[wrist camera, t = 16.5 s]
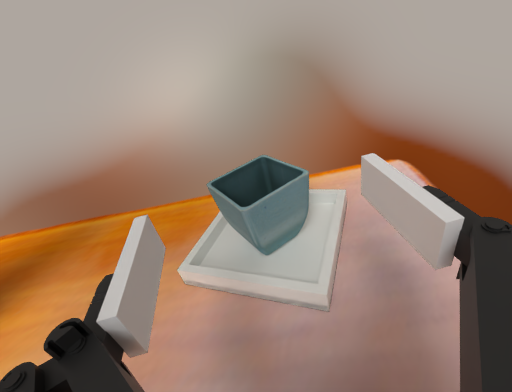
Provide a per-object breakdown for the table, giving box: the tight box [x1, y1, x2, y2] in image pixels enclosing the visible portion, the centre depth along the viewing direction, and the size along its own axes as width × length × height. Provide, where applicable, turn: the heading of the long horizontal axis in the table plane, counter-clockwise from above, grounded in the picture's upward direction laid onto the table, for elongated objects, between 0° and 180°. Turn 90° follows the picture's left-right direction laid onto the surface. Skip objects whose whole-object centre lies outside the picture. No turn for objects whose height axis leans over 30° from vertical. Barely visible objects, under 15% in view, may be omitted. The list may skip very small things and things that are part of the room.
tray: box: [177, 189, 347, 312], centre depth 34 cm, size 17×17×2 cm
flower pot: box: [207, 155, 309, 255], centre depth 32 cm, size 9×9×9 cm
